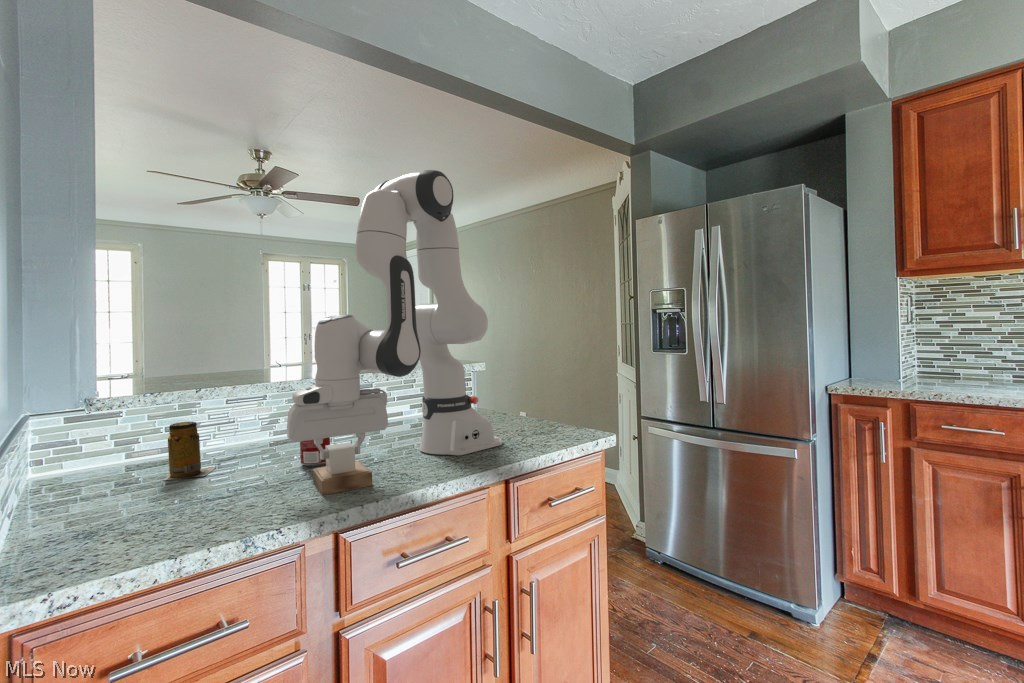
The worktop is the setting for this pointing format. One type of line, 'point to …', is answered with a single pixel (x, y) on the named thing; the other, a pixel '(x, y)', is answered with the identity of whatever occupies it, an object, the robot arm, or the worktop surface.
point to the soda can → (312, 452)
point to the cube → (340, 458)
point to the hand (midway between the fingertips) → (340, 456)
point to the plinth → (342, 479)
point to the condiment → (184, 452)
